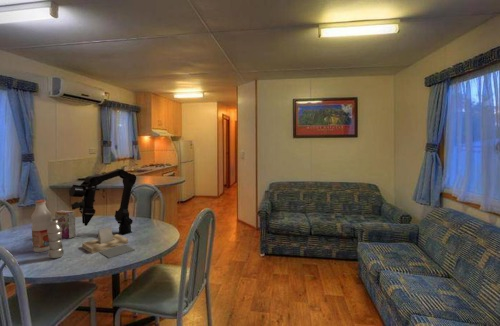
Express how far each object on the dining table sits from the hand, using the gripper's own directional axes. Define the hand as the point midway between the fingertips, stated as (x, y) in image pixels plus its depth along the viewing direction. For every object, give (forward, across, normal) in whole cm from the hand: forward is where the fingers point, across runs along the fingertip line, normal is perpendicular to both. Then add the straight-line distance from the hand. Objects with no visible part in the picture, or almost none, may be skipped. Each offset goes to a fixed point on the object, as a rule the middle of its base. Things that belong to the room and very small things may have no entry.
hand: (84, 224), depth 162 cm
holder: (+11, +6, +12) cm, 17 cm away
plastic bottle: (+16, +9, -12) cm, 22 cm away
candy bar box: (+12, -26, -6) cm, 29 cm away
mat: (+11, +20, +15) cm, 28 cm away
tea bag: (+11, +6, +12) cm, 17 cm away
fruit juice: (+16, -9, -17) cm, 25 cm away
